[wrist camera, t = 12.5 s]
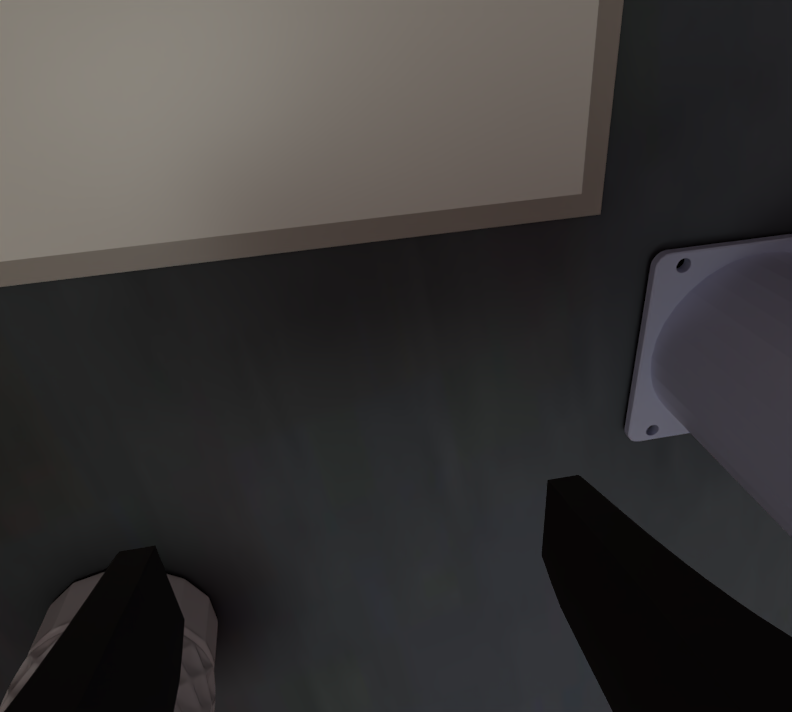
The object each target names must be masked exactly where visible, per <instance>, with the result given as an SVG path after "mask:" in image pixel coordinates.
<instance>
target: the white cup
mask: <svg viewBox="0 0 792 712" xmlns="http://www.w3.org/2000/svg"><path fill="white" fill-rule="evenodd" d="M103 574H104V572H102V573H99V574H96V575H94V576H91V577H88V578H85V579H83V580H80V581H77V582H74V583H73V584H72V585H71V586H70V587H68V588H67V589H66V590H65V591H64V592H63V593H62V594H61V595H60V596H59V597H58V598H57V599H56V600H55V601H54V602H53V603H52V604H51V605H50V607H49V609H48V611H47V613H46V615H45V618H44V620H43V622H42V624H41V626H40V629H39V631H38V633H37V635H36V637H35V640H34V642H33V644H32V646H31V649H30V651H29V653H28V656H27V658H26V659H25V661H24V662H23V664H22V665H21V667H20V669H19V670H18V672H17V673H16V675H15V677H14V679H13V680H12V682H11V684H10V686H9V688H8V690H7V692H6V694H5V697H4V699H3V701H2V703H1V706H0V712H4V711H5V709H6V708H7V707H8V706H9V704H10V703H11V702H12V701H13V699H14V698H15V697H16V695H17V694H18V693H19V692H20V690H21V689H22V688H23V686H24V685H25V684H26V682H27V681H28V680H29V678H30V677H31V676H32V674H33V673H34V672H35V670H36V669H37V668H38V666H39V665H40V663H41V662H42V661H43V659H44V658H45V657H46V655H47V654H48V652H49V651H50V650H51V648H52V647H53V646H54V644H55V643H56V641H57V640H58V639H59V637H60V636H61V634H62V633H63V632H64V630H65V629H66V628H67V626H68V625H69V623H70V622H71V620H72V619H73V617H74V616H75V615H76V613H77V612H78V610H79V609H80V607H81V606H82V605H83V603H84V602H85V600H86V599H87V597H88V596H89V594H90V593H91V591H92V590H93V588H94V587H95V586H96V584H97V583H98V581H99V580H100V578H101V577H102V575H103ZM167 577H168V579H169V582H170V584H171V587H172V589H173V592H174V594H175V597H176V599H177V602H178V604H179V607H180V609H181V612H182V614H183V617H184V619H185V623H184V637H183V651H182V662H181V673H180V681H179V687H178V692H177V698H176V703H175V708H174V712H214V711H215V676H214V666H215V655H216V641H217V628H218V620H217V617H216V614H215V612H214V609H213V607H212V604H211V601H210V599H209V597H208V596H207V595H205V594H204V593H203V592H201V591H200V590H199V589H198V588H196V587H195V586H194V585H192V584H191V583H190V582H188V581H187V580H185V579H184V578H180V577H177V576H173V575H170V574H167Z"/></svg>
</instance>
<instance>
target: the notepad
mask: <svg viewBox="0 0 792 712" xmlns="http://www.w3.org/2000/svg"><path fill="white" fill-rule="evenodd" d="M623 2H624V0H0V287H4V286H12V285H20V284H29V283H37V282H45V281H53V280H62V279H70V278H78V277H86V276H95V275H103V274H111V273H120V272H128V271H136V270H144V269H153V268H161V267H169V266H177V265H186V264H194V263H202V262H211V261H219V260H227V259H235V258H244V257H252V256H260V255H268V254H277V253H285V252H293V251H302V250H310V249H318V248H326V247H335V246H343V245H351V244H359V243H368V242H376V241H384V240H393V239H401V238H409V237H417V236H426V235H434V234H442V233H450V232H459V231H467V230H475V229H484V228H492V227H500V226H508V225H517V224H525V223H533V222H541V221H550V220H558V219H566V218H575V217H583V216H591V215H599V214H601V204H602V195H603V186H604V177H605V167H606V158H607V149H608V140H609V131H610V121H611V112H612V103H613V94H614V85H615V75H616V66H617V57H618V48H619V38H620V29H621V20H622V11H623Z"/></svg>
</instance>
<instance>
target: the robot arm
mask: <svg viewBox="0 0 792 712" xmlns="http://www.w3.org/2000/svg"><path fill="white" fill-rule="evenodd" d="M682 259H684V263H683V265H681V266H680V267H679V268H676V266H677V264H678V262H679V261H680V260H682ZM650 426H652V427H651V428H649V427H650ZM647 428H649V429H647ZM624 430H625V434H626V435H627V436H628V437H629V439H630V440H632V441H643V440H649V439H655V438H662V437H668V436H674V435H680V434H686V433H691V434H692V435H693V436H694V437H695V438H696V440H697V441H698V442H699V443H700V444H701V445H702V446H703V447H704V448H705V449H706V450H707V451H708V452H709V453H710V454H711V455H712V456H713V457H714V458H715V459H716V460H717V461H718V462H719V463H720V464H721V465H722V466H723V467H724V468H725V469H726V470H727V471H728V472H729V474H730V475H731V476H732V477H733V478H734V479H735V480H736V481H737V482H738V483H739V484H740V485H741V486H742V487H743V488H744V489H745V490H746V491H747V492H748V493H749V494H750V495H751V496H752V497H753V498H754V499H755V500H756V501H757V502H758V503H759V504H760V505H761V506H762V508H763V509H764V510H765V511H766V512H767V513H768V514H769V515H770V516H771V517H772V518H773V519H774V520H775V521H776V522H777V523H778V524H779V525H780V526H781V527H782V528H783V529H784V530H785V531H786V532H787V533H788V534H789V535H790V536H791V537H792V234H786V235H778V236H770V237H763V238H755V239H747V240H739V241H732V242H724V243H716V244H708V245H701V246H693V247H685V248H677V249H669V250H665V251H662V252H660V253H659V254H657V255H656V256H655V257H654V259H653V260H652V263H651V266H650V272H649V278H648V284H647V291H646V297H645V303H644V309H643V316H642V322H641V328H640V334H639V341H638V347H637V353H636V359H635V366H634V372H633V378H632V384H631V391H630V397H629V403H628V409H627V416H626V422H625V428H624ZM542 558H543V560H544V563H545V566H546V569H547V572H548V574H549V577H550V580H551V583H552V586H553V588H554V591H555V594H556V596H557V599H558V601H559V604H560V607H561V609H562V611H563V613H564V615H565V617H566V619H567V621H568V623H569V625H570V627H571V629H572V631H573V633H574V635H575V637H576V639H577V641H578V643H579V645H580V647H581V649H582V651H583V653H584V655H585V657H586V659H587V661H588V663H589V665H590V667H591V669H592V671H593V673H594V675H595V677H596V679H597V681H598V683H599V685H600V687H601V689H602V691H603V693H604V695H605V697H606V699H607V701H608V703H609V705H610V707H611V709H612V711H613V712H792V637H791V636H789V635H788V634H786V633H784V632H783V631H781V630H780V629H778V628H777V627H775V626H774V625H772V624H770V623H769V622H767V621H766V620H764V619H763V618H761V617H759V616H758V615H756V614H755V613H753V612H752V611H750V610H749V609H748V608H746V607H745V606H743V605H742V604H740V603H739V602H737V601H736V600H734V599H733V598H732V597H730V596H729V595H728V594H726V593H725V592H723V591H722V590H721V589H719V588H718V587H717V586H715V585H714V584H712V583H711V582H710V581H708V580H707V579H705V578H704V577H703V576H701V575H700V574H699V573H698V572H696V571H695V570H694V569H692V568H691V567H690V566H688V565H687V564H686V563H684V562H683V561H682V560H681V559H679V558H678V557H677V556H676V555H674V554H673V553H672V552H671V551H669V550H668V549H667V548H666V547H664V546H663V545H662V544H660V543H659V542H658V541H657V540H655V539H654V538H653V537H652V536H651V535H649V534H648V533H647V532H646V531H644V530H643V529H642V528H641V527H640V526H638V525H637V524H636V523H635V522H634V521H632V520H631V519H630V518H629V517H628V516H627V515H625V514H624V513H623V512H622V511H621V510H619V509H618V508H617V507H616V506H615V505H614V504H612V503H611V502H610V501H609V500H608V499H607V498H605V497H604V496H603V495H602V494H601V493H600V492H598V491H597V490H596V489H595V488H594V487H593V486H591V485H590V484H589V483H588V482H587V481H586V480H584V479H583V478H582V477H581V476H579V475H576V476H570V477H564V478H558V479H552V480H548V484H547V496H546V509H545V521H544V533H543V546H542ZM184 623H185V619H184V617H183V614H182V612H181V609H180V607H179V604H178V602H177V599H176V597H175V594H174V592H173V589H172V587H171V584H170V582H169V579H168V577H167V574H166V572H165V569H164V567H163V564H162V562H161V559H160V557H159V554H158V552H157V549H156V547H155V546H151V547H145V548H139V549H133V550H127V551H121V552H119V553H118V554H117V555H116V557H115V558H114V559H113V561H112V562H111V564H110V565H109V567H108V568H107V569H106V571H105V572H104V574H103V575H102V577H101V578H100V580H99V581H98V583H97V584H96V586H95V587H94V588H93V590H92V591H91V593H90V594H89V596H88V597H87V599H86V600H85V602H84V603H83V605H82V606H81V607H80V609H79V610H78V612H77V613H76V615H75V616H74V617H73V619H72V620H71V622H70V623H69V625H68V626H67V628H66V629H65V630H64V632H63V633H62V634H61V636H60V637H59V639H58V640H57V641H56V643H55V644H54V646H53V647H52V648H51V650H50V651H49V652H48V654H47V655H46V657H45V658H44V659H43V661H42V662H41V663H40V665H39V666H38V668H37V669H36V670H35V672H34V673H33V674H32V676H31V677H30V678H29V680H28V681H27V682H26V684H25V685H24V686H23V688H22V689H21V690H20V692H19V693H18V694H17V695H16V697H15V698H14V699H13V701H12V702H11V703H10V704H9V706H8V707H7V708H6V709H5V711H4V712H174V708H175V703H176V698H177V692H178V687H179V681H180V673H181V662H182V651H183V637H184Z"/></svg>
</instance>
